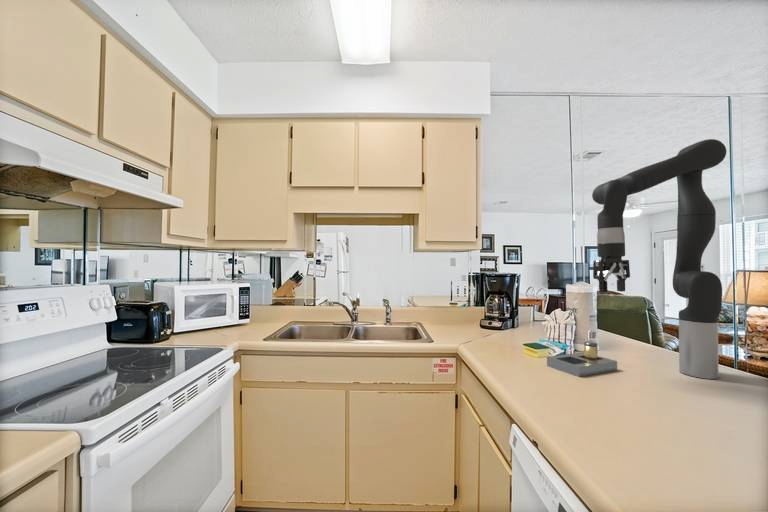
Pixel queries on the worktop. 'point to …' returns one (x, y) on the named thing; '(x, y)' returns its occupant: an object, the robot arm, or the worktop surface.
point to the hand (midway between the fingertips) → (612, 291)
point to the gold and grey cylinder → (591, 351)
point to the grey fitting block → (581, 364)
